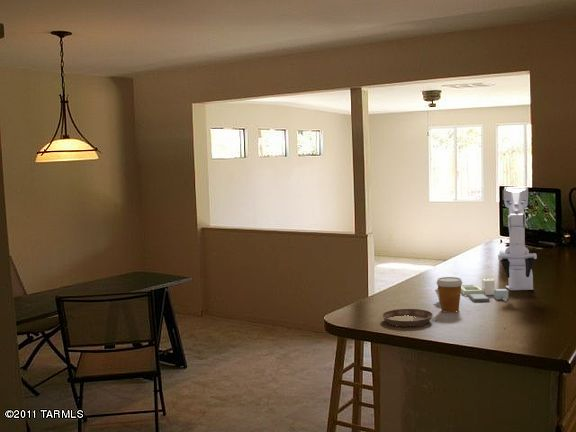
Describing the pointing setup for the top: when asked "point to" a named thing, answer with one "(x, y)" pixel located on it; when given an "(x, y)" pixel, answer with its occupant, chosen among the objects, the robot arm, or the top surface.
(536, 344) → the top surface
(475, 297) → the phone
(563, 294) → the top surface
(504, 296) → the cable plug
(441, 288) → the disposable coffee cup
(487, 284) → the charger
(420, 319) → the plant saucer
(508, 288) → the robot arm
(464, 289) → the outlet plate
